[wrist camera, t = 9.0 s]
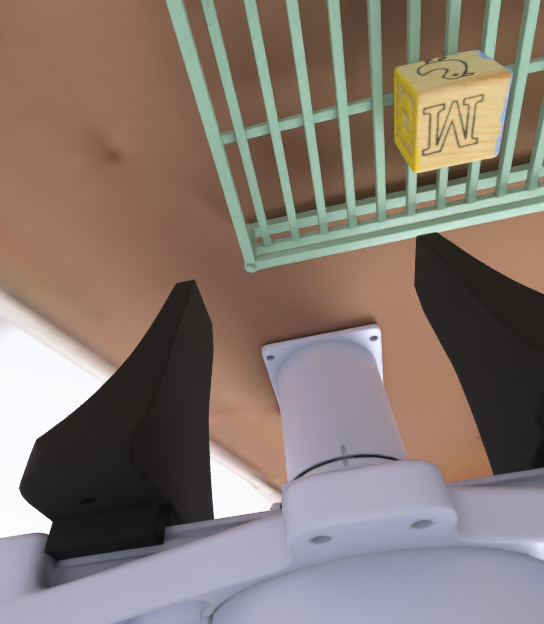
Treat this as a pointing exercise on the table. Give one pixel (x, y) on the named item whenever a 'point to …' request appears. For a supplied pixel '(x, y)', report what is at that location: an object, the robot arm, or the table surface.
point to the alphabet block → (450, 110)
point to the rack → (342, 110)
